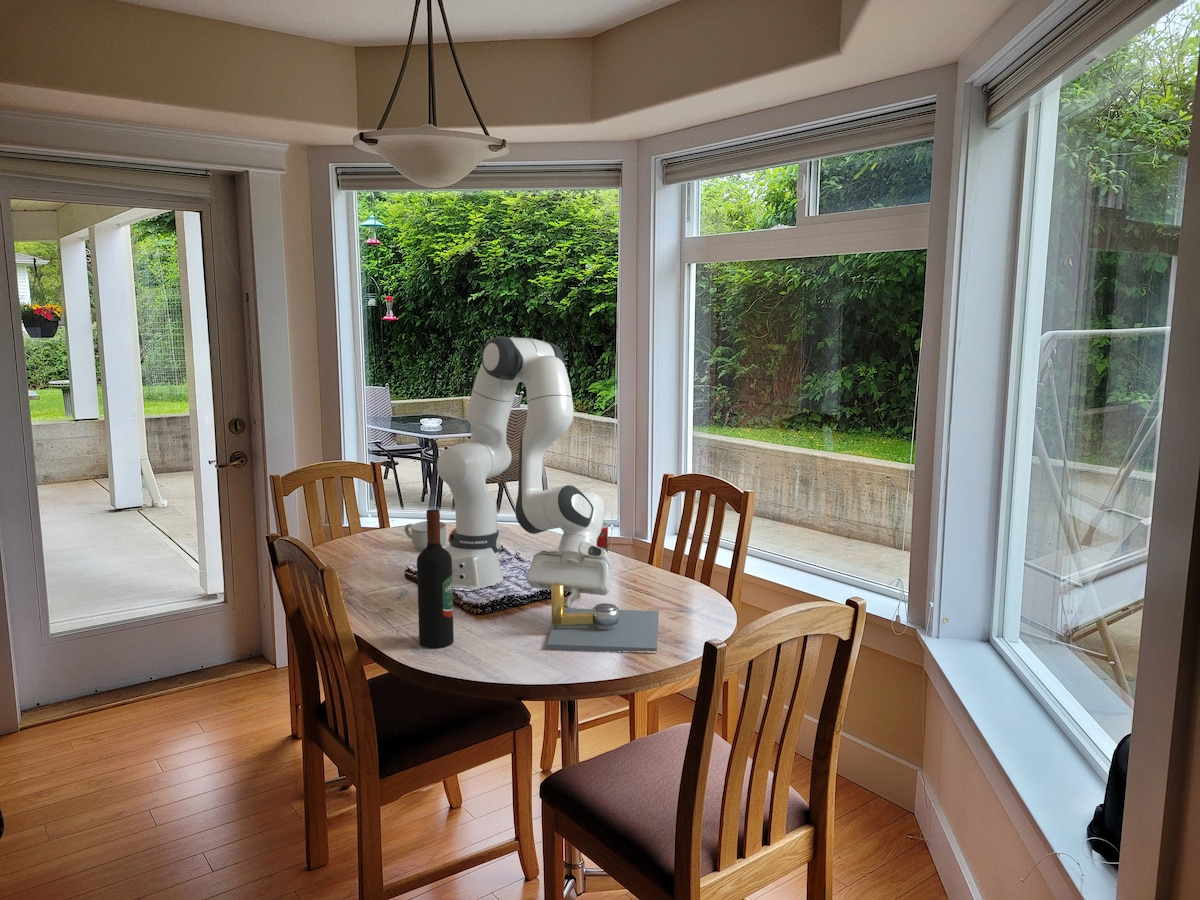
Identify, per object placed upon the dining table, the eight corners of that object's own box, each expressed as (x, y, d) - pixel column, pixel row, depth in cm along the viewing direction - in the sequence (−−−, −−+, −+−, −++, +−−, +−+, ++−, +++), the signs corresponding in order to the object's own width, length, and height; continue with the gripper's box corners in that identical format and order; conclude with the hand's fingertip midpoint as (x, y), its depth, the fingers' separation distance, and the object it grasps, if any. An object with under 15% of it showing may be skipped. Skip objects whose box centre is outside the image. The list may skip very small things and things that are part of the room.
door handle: (617, 616, 200) (617, 579, 199) (619, 625, 194) (620, 587, 193) (551, 618, 199) (551, 580, 197) (552, 627, 193) (551, 588, 191)
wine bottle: (421, 636, 194) (417, 507, 189) (455, 635, 194) (452, 506, 190) (417, 649, 186) (413, 514, 182) (452, 648, 187) (449, 514, 183)
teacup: (453, 548, 269) (453, 523, 268) (429, 556, 260) (428, 530, 259) (421, 542, 277) (420, 518, 275) (396, 549, 268) (395, 524, 266)
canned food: (605, 563, 252) (605, 527, 251) (578, 562, 254) (578, 526, 252) (609, 556, 260) (610, 521, 258) (584, 555, 261) (584, 520, 260)
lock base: (546, 649, 186) (546, 639, 186) (560, 612, 210) (560, 604, 210) (656, 653, 184) (656, 643, 184) (658, 615, 208) (658, 607, 208)
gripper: (532, 543, 206) (515, 595, 198) (612, 551, 199) (598, 605, 191) (539, 556, 211) (523, 607, 203) (618, 564, 204) (605, 617, 196)
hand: (560, 606), depth 197 cm, fingers closed on door handle
